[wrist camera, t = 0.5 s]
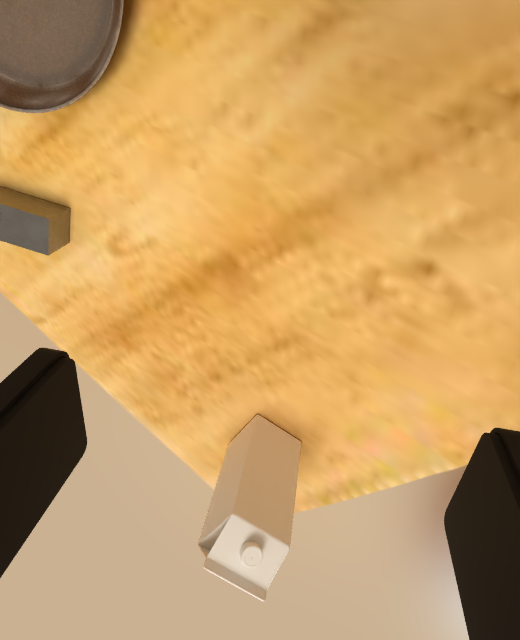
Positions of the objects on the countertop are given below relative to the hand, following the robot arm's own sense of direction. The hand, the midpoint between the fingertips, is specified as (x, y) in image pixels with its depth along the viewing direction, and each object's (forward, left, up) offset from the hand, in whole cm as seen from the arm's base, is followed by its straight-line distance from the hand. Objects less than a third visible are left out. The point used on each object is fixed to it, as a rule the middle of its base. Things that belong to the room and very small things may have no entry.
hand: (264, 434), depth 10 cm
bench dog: (+14, -29, -35) cm, 47 cm away
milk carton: (+36, +4, -35) cm, 50 cm away
